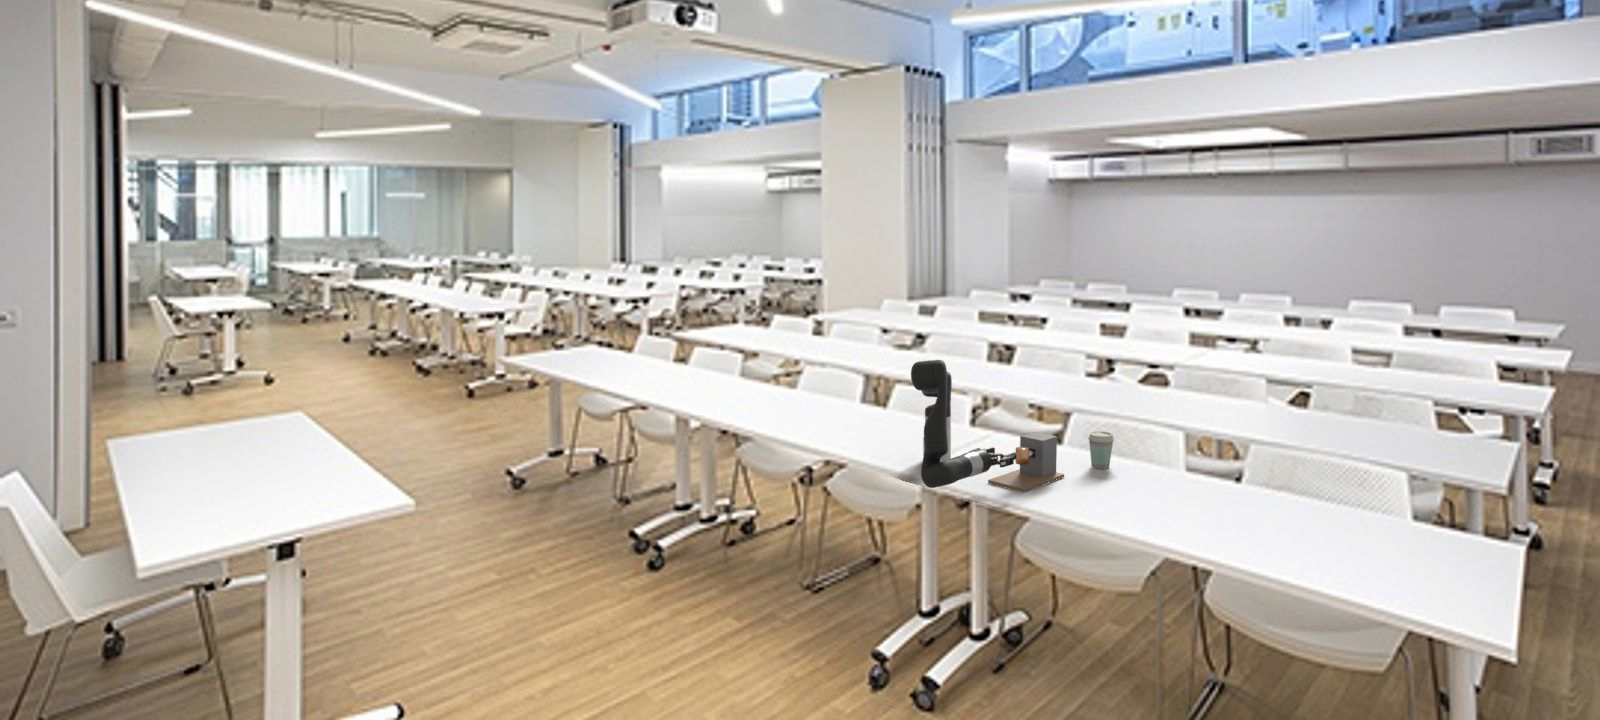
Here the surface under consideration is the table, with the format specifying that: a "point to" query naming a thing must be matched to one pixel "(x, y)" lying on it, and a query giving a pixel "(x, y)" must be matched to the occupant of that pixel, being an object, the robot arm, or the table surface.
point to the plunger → (1023, 455)
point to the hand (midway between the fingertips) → (1004, 452)
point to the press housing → (1033, 464)
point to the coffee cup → (1100, 449)
